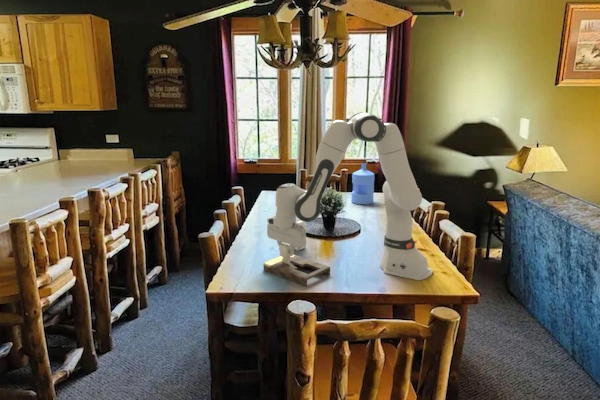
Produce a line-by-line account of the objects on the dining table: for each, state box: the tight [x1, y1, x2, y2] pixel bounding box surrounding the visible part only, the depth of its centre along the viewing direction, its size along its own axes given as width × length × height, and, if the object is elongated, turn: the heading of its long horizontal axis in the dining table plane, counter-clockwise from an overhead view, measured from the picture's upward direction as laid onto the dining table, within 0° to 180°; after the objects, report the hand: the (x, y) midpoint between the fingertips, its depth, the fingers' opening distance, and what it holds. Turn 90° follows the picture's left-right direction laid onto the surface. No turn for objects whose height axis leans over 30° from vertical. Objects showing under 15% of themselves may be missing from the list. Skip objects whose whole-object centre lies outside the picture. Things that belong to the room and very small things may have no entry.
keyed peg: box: [279, 242, 295, 266], centre depth 182 cm, size 5×5×11 cm
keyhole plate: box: [262, 254, 331, 287], centre depth 179 cm, size 24×16×3 cm, turn 48°
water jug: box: [350, 162, 375, 206], centre depth 296 cm, size 16×16×28 cm
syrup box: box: [294, 218, 307, 252], centre depth 206 cm, size 6×6×14 cm
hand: (286, 252), depth 181 cm, fingers closed on keyed peg, 4 cm apart
